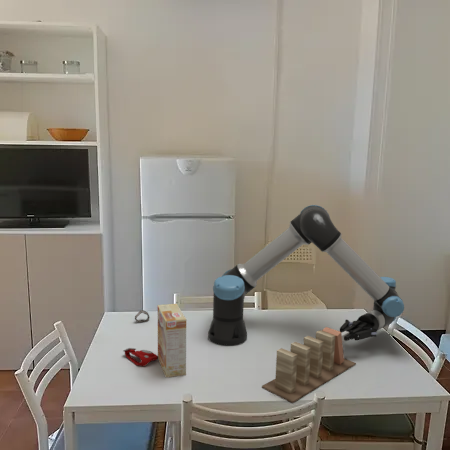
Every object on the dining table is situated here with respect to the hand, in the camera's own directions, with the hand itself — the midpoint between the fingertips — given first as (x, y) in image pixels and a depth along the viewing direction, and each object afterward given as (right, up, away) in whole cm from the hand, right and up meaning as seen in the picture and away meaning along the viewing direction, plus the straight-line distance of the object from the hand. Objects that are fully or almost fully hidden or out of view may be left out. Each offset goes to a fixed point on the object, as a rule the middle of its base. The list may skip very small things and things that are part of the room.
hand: (337, 340), depth 163 cm
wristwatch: (-73, -1, +33) cm, 81 cm away
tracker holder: (-68, -7, +1) cm, 68 cm away
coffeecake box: (-57, -8, -4) cm, 58 cm away
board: (-10, -10, -8) cm, 16 cm away
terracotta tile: (0, -7, +2) cm, 8 cm away
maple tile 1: (-5, -8, -3) cm, 10 cm away
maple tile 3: (-15, -10, -13) cm, 22 cm away
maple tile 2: (-10, -9, -8) cm, 16 cm away
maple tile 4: (-20, -11, -18) cm, 29 cm away
